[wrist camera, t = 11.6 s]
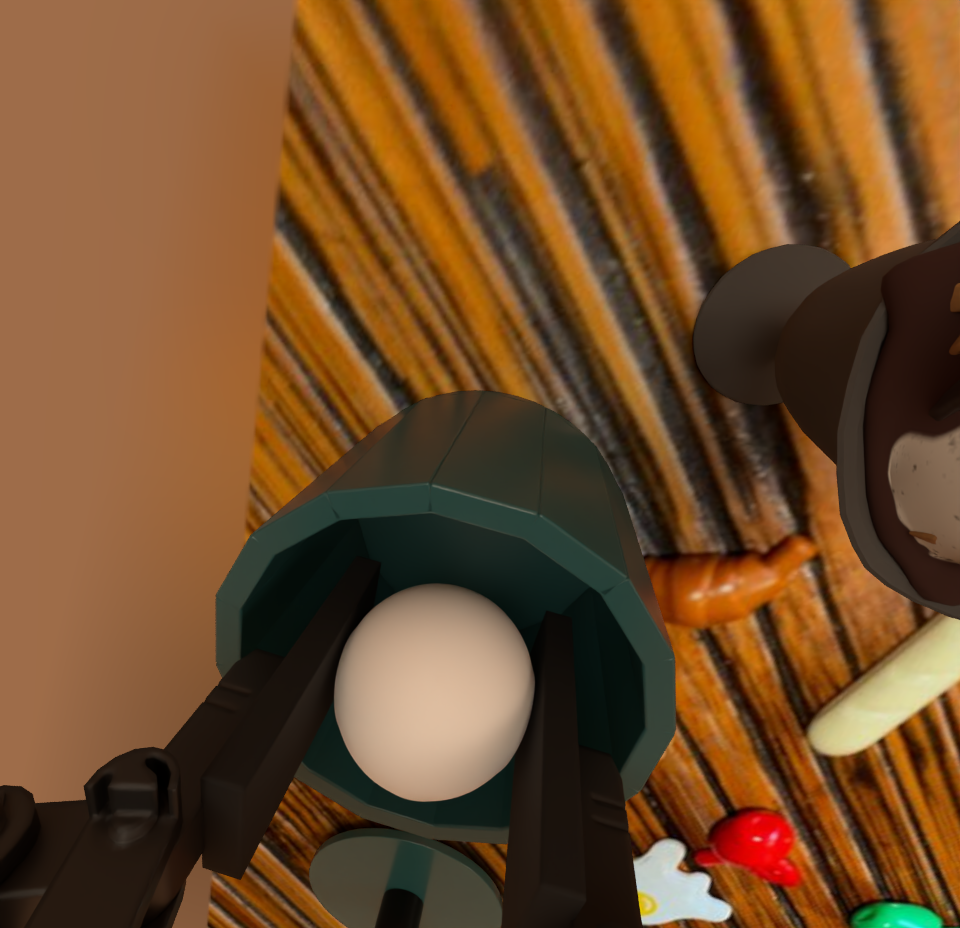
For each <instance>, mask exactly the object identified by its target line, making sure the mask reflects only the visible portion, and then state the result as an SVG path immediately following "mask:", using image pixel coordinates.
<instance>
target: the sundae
mask: <svg viewBox="0 0 960 928" xmlns="http://www.w3.org/2000/svg"><path fill="white" fill-rule="evenodd" d="M693 340H694V352H695V357H696V362H697V365H698V367H699V369H700V371H701V373H702V374H703V376H704V378H705V379H706V380H707V382H708V383H709V384H710V385H711V387H712V388H714V389H715V390H716V391H718V392H719V393H721V394H722V395H724V396H726V397H728V398H730V399H732V400H734V401H736V402H741V403H746V404H752V405H772V404H778V403H783V402H784V404H785V406H786V407H787V409H788V411H789V412H790V414H791V415H792V417H793V418H794V420H795V421H796V422H797V424H798V425H799V427H800V428H801V430H802V431H803V432H804V433H805V434H806V435H807V436H808V437H809V438H810V439H811V440H812V441H813V442H814V443H815V444H816V445H817V446H818V447H819V448H820V449H821V450H822V451H823V452H824V453H825V454H826V455H827V456H828V457H829V458H830V459H831V460H832V461H833V462H834V463H835V464H836V465H837V484H838V496H839V508H840V516H841V518H842V521H843V524H844V526H845V529H846V531H847V534H848V537H849V539H850V542H851V544H852V547H853V548H854V550H855V552H856V554H857V555H858V557H859V559H860V561H861V562H862V564H863V566H864V567H865V568H866V569H867V570H868V571H869V572H870V573H871V574H873V575H874V576H875V577H876V578H877V579H878V580H880V581H881V582H882V583H883V584H884V585H886V586H887V587H889V588H891V589H892V590H894V591H896V592H898V593H899V594H901V595H903V596H905V597H906V598H908V599H910V600H911V601H914V602H916V603H918V604H921V605H923V606H925V607H928V608H930V609H932V610H935V611H937V612H939V613H941V614H944V615H946V616H948V617H952V618H955V619H959V620H960V221H959V222H958V223H957V224H956V225H954V226H953V227H952V228H950V229H949V230H948V231H947V232H945V233H944V234H943V235H942V236H940V237H939V238H938V239H934V240H930V241H927V242H923V243H919V244H915V245H912V246H908V247H905V248H902V249H899V250H896V251H893V252H890V253H887V254H884V255H882V256H879V257H877V258H875V259H872V260H870V261H867V262H865V263H863V264H860V265H858V266H856V267H853V268H850V266H849V265H848V264H847V263H846V262H844V261H843V260H842V259H840V258H839V257H838V256H836V255H834V254H833V253H831V252H829V251H827V250H825V249H823V248H820V247H814V246H808V245H791V244H787V245H783V246H778V247H774V248H770V249H767V250H764V251H761V252H759V253H756V254H753V255H751V256H750V257H748V258H746V259H745V260H743V261H742V262H740V263H739V264H737V265H736V266H735V267H733V268H732V269H731V270H730V271H728V272H727V273H726V274H725V275H723V276H722V277H721V279H720V280H719V281H718V282H717V284H716V285H715V286H714V287H713V289H712V290H711V291H710V293H709V294H708V296H707V298H706V299H705V301H704V302H703V304H702V306H701V309H700V312H699V315H698V317H697V320H696V325H695V330H694V335H693Z"/></svg>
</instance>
